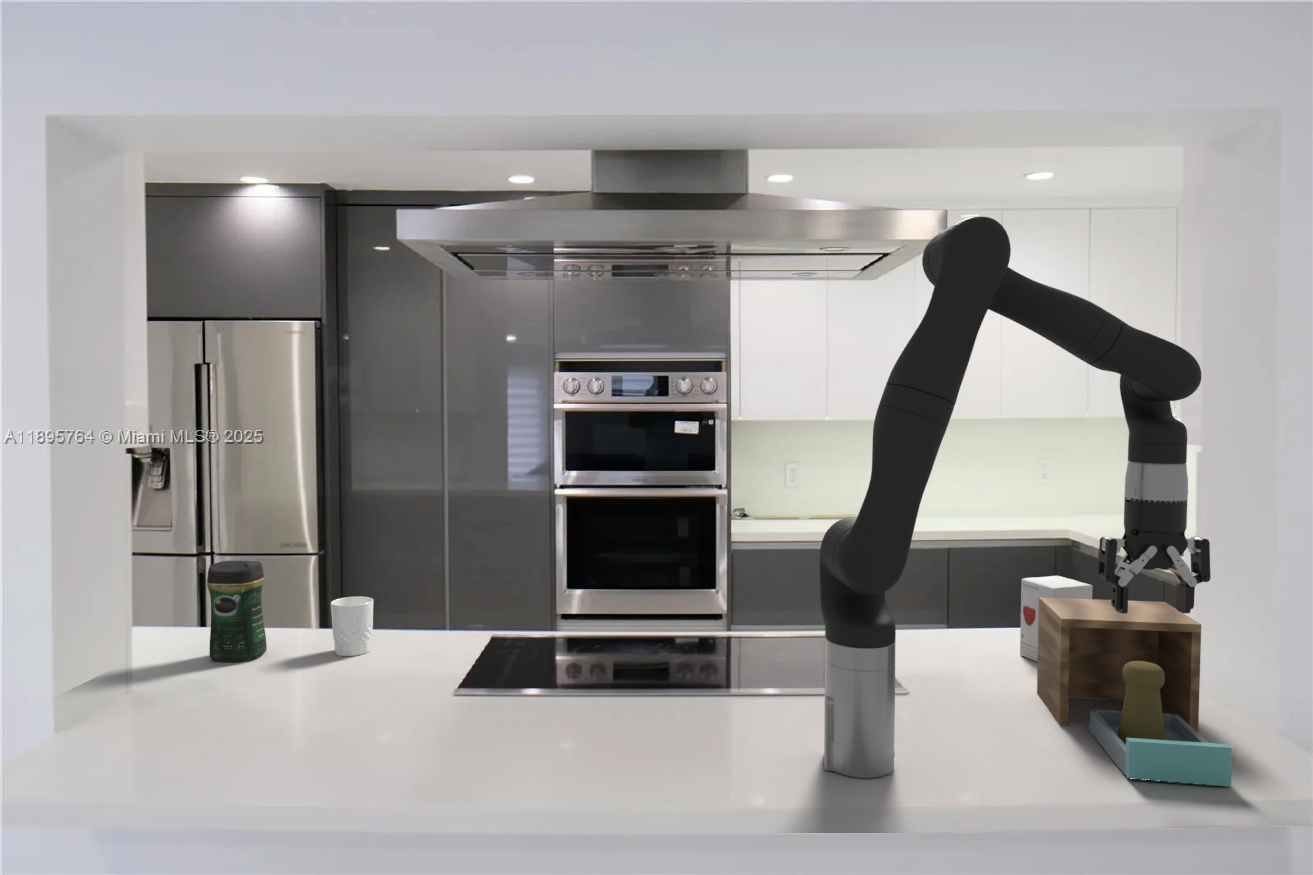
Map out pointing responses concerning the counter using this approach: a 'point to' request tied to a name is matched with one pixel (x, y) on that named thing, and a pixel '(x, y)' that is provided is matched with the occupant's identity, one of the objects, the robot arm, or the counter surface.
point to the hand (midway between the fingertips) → (1151, 612)
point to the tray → (1164, 752)
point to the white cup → (352, 625)
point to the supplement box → (1030, 605)
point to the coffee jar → (236, 610)
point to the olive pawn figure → (1142, 702)
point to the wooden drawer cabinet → (1115, 653)
